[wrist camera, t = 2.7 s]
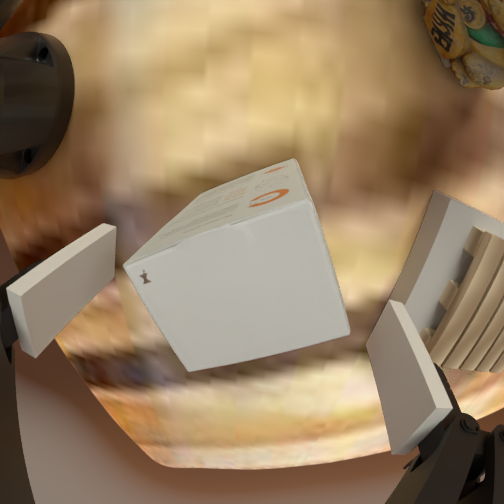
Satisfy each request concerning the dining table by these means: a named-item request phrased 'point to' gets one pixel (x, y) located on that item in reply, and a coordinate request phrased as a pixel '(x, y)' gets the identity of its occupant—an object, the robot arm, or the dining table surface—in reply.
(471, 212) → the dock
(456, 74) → the decorative figurine
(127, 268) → the small box
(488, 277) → the pallet
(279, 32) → the dining table surface
